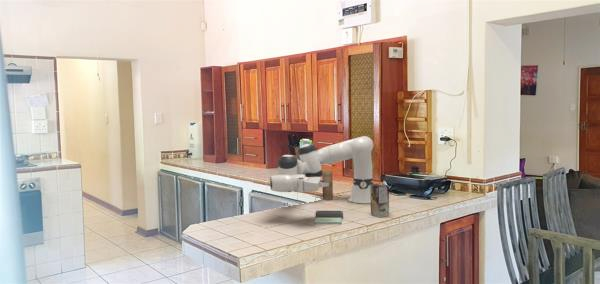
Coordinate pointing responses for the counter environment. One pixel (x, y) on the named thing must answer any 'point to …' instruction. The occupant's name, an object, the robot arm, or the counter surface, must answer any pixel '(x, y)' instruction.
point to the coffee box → (379, 200)
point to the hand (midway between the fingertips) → (329, 183)
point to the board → (328, 220)
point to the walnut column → (327, 189)
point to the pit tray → (329, 214)
